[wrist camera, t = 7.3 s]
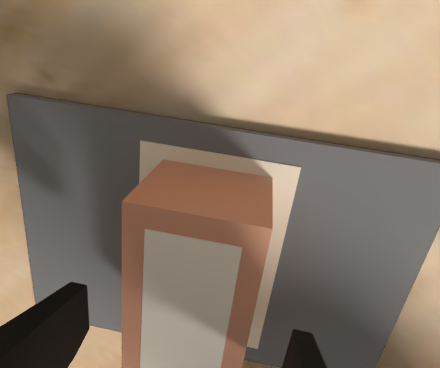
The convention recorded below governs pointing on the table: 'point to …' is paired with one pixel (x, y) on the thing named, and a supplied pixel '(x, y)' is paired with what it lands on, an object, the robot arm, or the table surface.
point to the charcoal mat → (282, 219)
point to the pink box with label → (192, 265)
